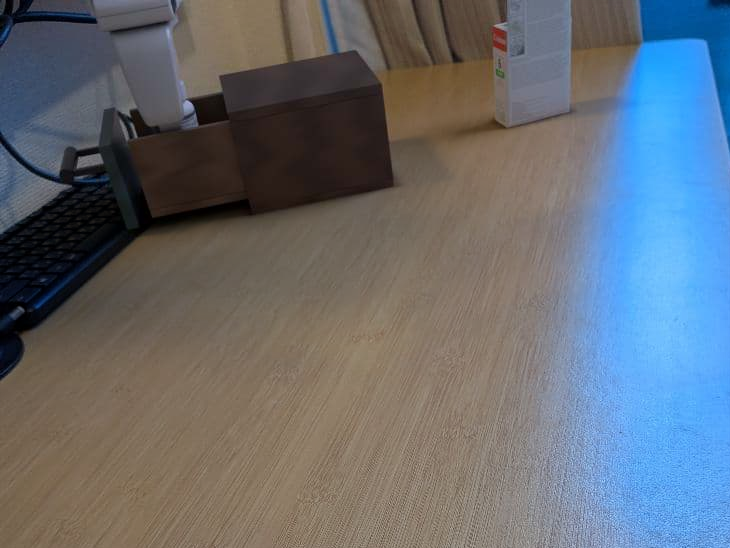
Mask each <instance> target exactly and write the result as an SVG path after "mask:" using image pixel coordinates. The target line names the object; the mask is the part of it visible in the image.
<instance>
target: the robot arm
mask: <svg viewBox="0 0 730 548" xmlns="http://www.w3.org/2000/svg"><path fill="white" fill-rule="evenodd" d="M85 2H86V5H87V8H88V12H89V14H90V16H91V17H92V18H94V19H95V20H96V23H97V25H98V29H99V30H100V32H102V33H107V32H108V36H109V39H110V42H111V45H112V48H113V50H114V53H115V56H116V59H117V61H118V64H119V67H120V69H121V71H122V74H123V77H124V79H125V82H126V84H127V86H128V89H129V92H130V94H131V97H132V99H133V101H134V104H135V106H136V108H138V111H139V113H140V115H141V117H142V119H143V120H144V122H145V123H146V125H148V126H159V128H160V131H161V133H165V132H170V131H175V130H180V129H182V126H181V120H183V118H184V107H183V100H182V89H181V83H180V80H181V79H182V78H181V69H180V61H179V57H178V56H179V55H178V52H177V49H176V45H175V42H174V35H173V34H174V33H173V32H174V28H175V26H176V25H178V24H179V20H180V19H179V17H178V13H177V10H178V9H179V7H180V5H181V4H183V3H184V2H186V0H85Z"/></svg>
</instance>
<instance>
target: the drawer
mask: <svg viewBox="0 0 730 548" xmlns="http://www.w3.org/2000/svg"><path fill="white" fill-rule="evenodd" d="M186 100H187V101H189V102H191V103H192V105H193V106H194V109H195V113H196V117H197V121H198V125H199V126H196V127H190V128H185V129H180V130H175V131H170V132H165V133H159V134H154V135H152V132H151V129H150V126H148V125H146V123H145V122H144V120H143V119H142V117H141V115H140V113H139V111H138V108H137V107H135V108H130V109H129V112H128V113H129V115H130V118H131V123H132V126H133V127H134V131H135V135H136V137H134V138H129V139H126V136H125V133H124V130H123V127H122V124H121V121H120V118H119V117H120V116H119V114H118V111H117V109H116V107H109V108H104V109H103V114H102V120H101V126H100V133H99V140H98V145H95V146H89V147H85V148H80V149H77V148H76V147H75V146H67V147H65V149H64V151H63V155H62V160H61V164H60V167H59V171H58V178H59V180H60V181H61V182H63V183H64V184H68V185H69V184H72V183H73V182H74V180H75V178H78V177H79V178H80V177H84V176H90V175H93V174H99V173H105V172H106V174H107V177H108V180H109V182H110V185H111V189H112V191H113V194H114V196H115V199H116V203H117V206H118V208H119V211H120V213H121V217H122V219H123V222H124V225H125V228H126V230H127V229H128V231H129V230H134V229H139V228H140V211H139V207H141V206H139V203H140V204H141V189H142V192H143V195H144V198H145V201H146V204H147V207H148V210H149V213H150V216H151V218H152V219H154V218H160V217H165V216H169V215H175V214H179V213H184V212H189V211H195V210H199V209H200V210H201V209H204V208H208V207H213V206H214V207H215V206H220V205H224V204H229V203H234V202H239V201H245V200H248V196H247V191H246V187H245V183H244V179H243V175H242V171H241V167H240V163H239V159H238V155H237V150H236V146H235V142H234V138H233V134H232V130H231V126H230V122H229V118H228V114H227V109H226V105H225V101H224V96H223V92H222V91H219V92H214V93H209V94H203V95H199V96H193V97H187V98H186ZM98 154H100V157H101V160H102V163H99V164H94V165H93V164H92V165H88V166H82V167H78V162H79V158H83V157H88V156H93V155H98Z"/></svg>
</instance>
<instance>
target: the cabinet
mask: <svg viewBox="0 0 730 548" xmlns="http://www.w3.org/2000/svg"><path fill="white" fill-rule="evenodd" d="M218 78H219V82H220V83H219V84H220V87H221V92H223V96H224V101H225V105H226V109H227V114H228V118H229V122H230V126H231V130H232V134H233V138H234V142H235V146H236V150H237V155H238V159H239V163H240V167H241V171H242V175H243V179H244V183H245V187H246V191H247V196H248V199H247V201H248V204H249V208H250V211H251V215H252V216H255V215H260V214H265V213H270V212H274V211H275V212H276V211H279V210H285V209H289V208H295V207H299V206H305V205H309V204H313V203H319V202H324V201H329V200H334V199H339V198H344V197H349V196H353V195H359V194H362V193H363V194H364V193H368V192H373V191H377V190H383V189H387V188H392V187H395V181H394V172H393V165H392V163H393V162H392V155H391V147H390V139H389V132H388V122H387V115H386V105H385V97H384V89H383V82H381V80H380V79H379V77H377V75H376V73H374V71H373V70H372V68H370V66H369V65H368V64H367V62H366V61H365V60H364V58H363V57H362V56H361V54H360V53H359V52H358V50H356V49H352V50H348V51H342V52H336V53H331V54H325V55H321V56H315V57H311V58H304V59H300V60H294V61H289V62H283V63H277V64H274V65H268V66H263V67H257V68H251V69H247V70H240V71H235V72H230V73H225V74H221V75H218Z"/></svg>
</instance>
